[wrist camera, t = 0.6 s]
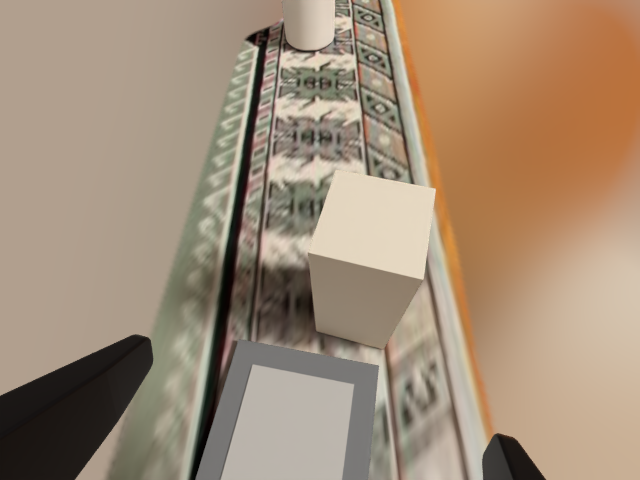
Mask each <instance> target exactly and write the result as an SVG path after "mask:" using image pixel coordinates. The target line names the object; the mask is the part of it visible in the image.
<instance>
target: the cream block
mask: <svg viewBox="0 0 640 480" xmlns="http://www.w3.org/2000/svg"><path fill="white" fill-rule="evenodd" d="M435 191H436V189H433V188H428V187H423V186H418V185H413V184H408V183H403V182H397V181H392V180H387V179H382V178H377V177H372V176H367V175H362V174H356V173H351V172H346V171H341V170H336V172H335V174H334V177H333V180H332V183H331V186H330V189H329V192H328V195H327V198H326V201H325V204H324V207H323V210H322V213H321V216H320V218H319V221H318V224H317V227H316V230H315V233H314V236H313V239H312V242H311V245H310V248H309V251H308V258H309V267H310V277H311V286H312V296H313V305H314V315H315V324H316V331H317V332H321V333H325V334H328V335H332V336H336V337H339V338H343V339H347V340H350V341H354V342H357V343H361V344H365V345H368V346H372V347H376V348H379V349H384V348H385V346H386V344H387V342H388V341H389V339H390V337H391V335H392V334H393V332H394V330H395V328H396V327H397V325H398V323H399V321H400V320H401V318H402V316H403V314H404V313H405V311H406V309H407V308H408V306H409V304H410V302H411V301H412V299H413V297H414V295H415V294H416V292H417V290H418V288H419V287H420V285H421V283H422V281H423V279H424V272H425V264H426V257H427V250H428V242H429V235H430V228H431V220H432V213H433V206H434V199H435Z"/></svg>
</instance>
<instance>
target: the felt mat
mask: <svg viewBox="0 0 640 480" xmlns="http://www.w3.org/2000/svg"><path fill="white" fill-rule="evenodd" d="M378 370H379V366H378V365H373V364H368V363H362V362H357V361H352V360H347V359H341V358H336V357H331V356H325V355H320V354H315V353H310V352H304V351H299V350H294V349H289V348H283V347H278V346H273V345H268V344H262V343H257V342H252V341H246V340H241V339H239V340H238V343H237V346H236V350H235V353H234V356H233V359H232V363H231V366H230V369H229V372H228V375H227V379H226V382H225V385H224V388H223V392H222V395H221V398H220V401H219V405H218V408H217V411H216V414H215V418H214V421H213V424H212V427H211V430H210V434H209V437H208V440H207V443H206V447H205V450H204V453H203V456H202V460H201V463H200V466H199V469H198V473H197V476H196V479H195V480H368V474H369V464H370V453H371V443H372V432H373V422H374V411H375V401H376V390H377V380H378Z"/></svg>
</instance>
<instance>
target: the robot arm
mask: <svg viewBox="0 0 640 480" xmlns="http://www.w3.org/2000/svg"><path fill="white" fill-rule="evenodd" d="M152 364H153V353H152V346H151V340H150V339H149V338H148V337H145V336H141V335H136V334H135V335H132V336H129V337H127V338H125V339H123V340H120V341H118V342H116V343H114V344H112V345H110V346H108V347H105V348H103V349H101V350H99V351H97V352H94V353H92V354H90V355H88V356H86V357H83V358H81V359H79V360H77V361H75V362H73V363H70V364H68V365H66V366H64V367H62V368H59V369H57V370H55V371H53V372H51V373H49V374H46V375H44V376H42V377H40V378H38V379H35V380H33V381H32V382H29V383H27V384H25V385H23V386H20V387H18V388H16V389H14V390H12V391H9V392H7V393H5V394H3V395H1V396H0V480H75V479H76V477H77V476H78V475H79V473H80V472H81V471H82V469H83V468H84V467H85V465H86V464H87V462H88V461H89V460H90V459H91V457H92V456H93V455H94V453H95V452H96V451H97V449H98V448H99V446H100V445H101V444H102V442H103V441H104V440H105V438H106V437H107V436H108V434H109V433H110V432H111V430H112V429H113V427H114V426H115V425H116V423H117V422H118V420H119V419H120V417H121V416H122V414H123V413H124V411H125V410H126V408H127V406H128V405H129V403H130V401H131V400H132V398H133V396H134V395H135V393H136V392H137V390H138V388H139V387H140V385H141V383H142V382H143V380H144V378H145V377H146V375H147V374H148V372H149V370H150V369H151V367H152ZM482 467H483V480H546V479H545V478H544V476H543V475H542V473H541V472H540V471H539V470H538V468H537V467H536V465H535V464H534V463H533V461H532V460H531V459H530V457H529V456H528V455H527V453H526V452H525V450H524V449H523V448H522V446H521V445H520V444H519V443H518V441H517V440H516V439H515V438H513V437H510V436H507V435H503V434H499V433H497V434H495V435H494V436H493V437H492V439H491V441H490V443H489V445H488V446H487V448H486V450H485V452H484V454H483V459H482Z"/></svg>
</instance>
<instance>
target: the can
mask: <svg viewBox="0 0 640 480" xmlns="http://www.w3.org/2000/svg"><path fill="white" fill-rule="evenodd" d="M282 8H283V18H284V27H285V36H286V40H287V42H288V43H289V44H290V45H291V46H292V47H293V48H295V49H297V50H300V51H307V52H311V51H318V50H321V49H324V48H325V47H327V46H328V45H329V44H330V43H331V42H332V41H333V39H334V27H335V0H282Z"/></svg>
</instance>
